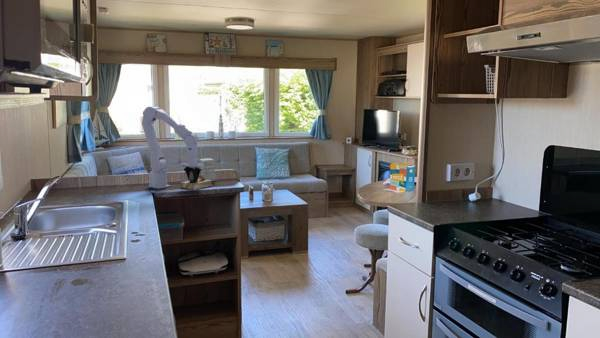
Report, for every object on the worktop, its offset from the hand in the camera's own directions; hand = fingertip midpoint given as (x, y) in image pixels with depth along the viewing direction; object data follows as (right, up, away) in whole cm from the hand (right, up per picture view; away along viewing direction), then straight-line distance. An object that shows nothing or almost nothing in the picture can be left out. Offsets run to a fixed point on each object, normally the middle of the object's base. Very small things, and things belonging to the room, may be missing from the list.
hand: (193, 180), depth 259 cm
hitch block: (+1, -3, +3) cm, 4 cm away
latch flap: (+3, +2, +5) cm, 7 cm away
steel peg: (0, -2, 0) cm, 2 cm away
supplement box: (+4, 0, +22) cm, 22 cm away
